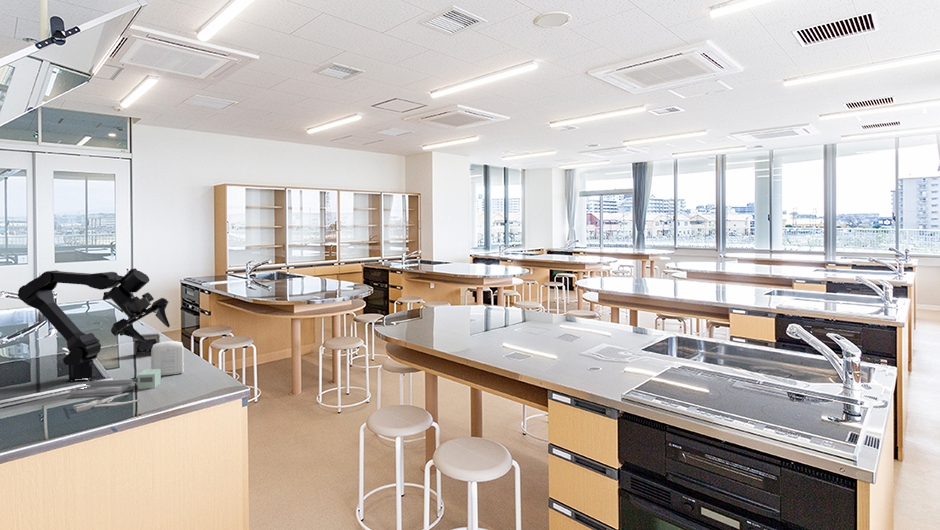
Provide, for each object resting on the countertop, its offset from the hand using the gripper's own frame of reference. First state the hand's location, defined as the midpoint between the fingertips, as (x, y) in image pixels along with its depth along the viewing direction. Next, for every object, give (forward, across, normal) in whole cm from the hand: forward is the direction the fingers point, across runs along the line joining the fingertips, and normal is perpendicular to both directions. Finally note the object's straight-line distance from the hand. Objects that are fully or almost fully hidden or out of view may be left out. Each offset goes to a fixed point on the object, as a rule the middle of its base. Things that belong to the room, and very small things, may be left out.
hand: (157, 333), depth 170 cm
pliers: (+11, -27, -3) cm, 29 cm away
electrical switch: (-4, +10, +43) cm, 44 cm away
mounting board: (+5, -21, +9) cm, 23 cm away
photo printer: (+12, -1, +14) cm, 18 cm away
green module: (+13, -11, +5) cm, 18 cm away
